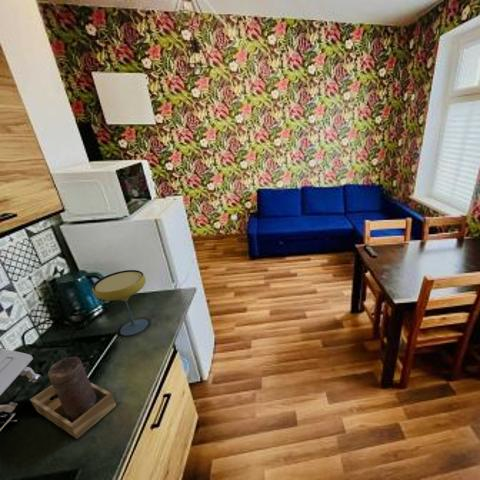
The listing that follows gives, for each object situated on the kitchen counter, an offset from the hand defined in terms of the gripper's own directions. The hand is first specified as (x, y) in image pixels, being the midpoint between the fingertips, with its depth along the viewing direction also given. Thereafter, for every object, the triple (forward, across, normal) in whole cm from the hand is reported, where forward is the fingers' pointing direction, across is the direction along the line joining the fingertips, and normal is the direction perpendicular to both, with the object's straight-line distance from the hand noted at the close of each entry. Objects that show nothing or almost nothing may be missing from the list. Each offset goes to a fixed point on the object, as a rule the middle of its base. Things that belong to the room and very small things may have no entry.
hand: (27, 392), depth 76 cm
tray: (+14, -3, -5) cm, 15 cm away
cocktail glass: (+18, -41, -2) cm, 45 cm away
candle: (+17, 0, -1) cm, 17 cm away
